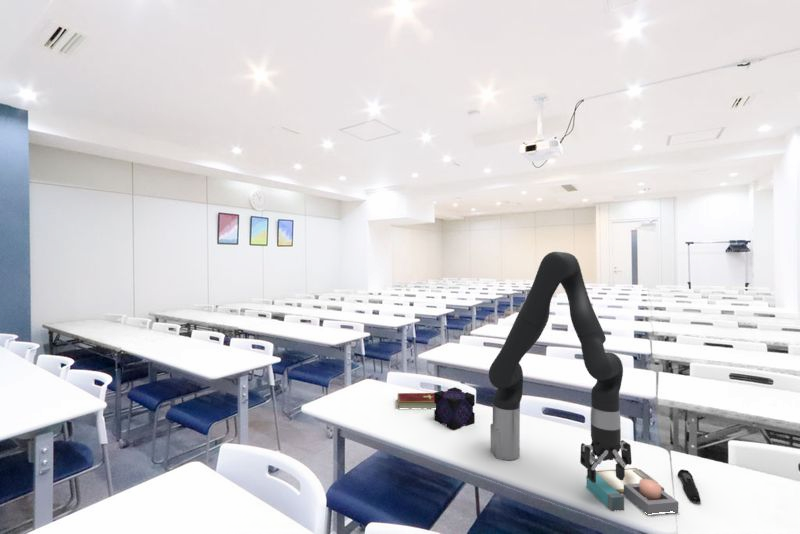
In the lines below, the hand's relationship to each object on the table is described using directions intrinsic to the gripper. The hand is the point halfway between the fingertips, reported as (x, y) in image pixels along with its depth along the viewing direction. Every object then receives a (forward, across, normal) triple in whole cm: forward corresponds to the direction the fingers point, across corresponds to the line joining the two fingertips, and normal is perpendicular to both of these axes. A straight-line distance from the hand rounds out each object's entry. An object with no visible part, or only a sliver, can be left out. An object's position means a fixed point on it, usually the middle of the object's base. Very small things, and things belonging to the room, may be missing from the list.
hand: (606, 479), depth 106 cm
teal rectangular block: (+5, 0, 0) cm, 5 cm away
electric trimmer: (+6, +28, +1) cm, 29 cm away
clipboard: (+5, +12, +7) cm, 14 cm away
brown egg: (+3, +11, -4) cm, 12 cm away
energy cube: (+4, -29, +56) cm, 63 cm away
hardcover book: (+4, -40, +76) cm, 86 cm away
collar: (+6, +11, -4) cm, 13 cm away
